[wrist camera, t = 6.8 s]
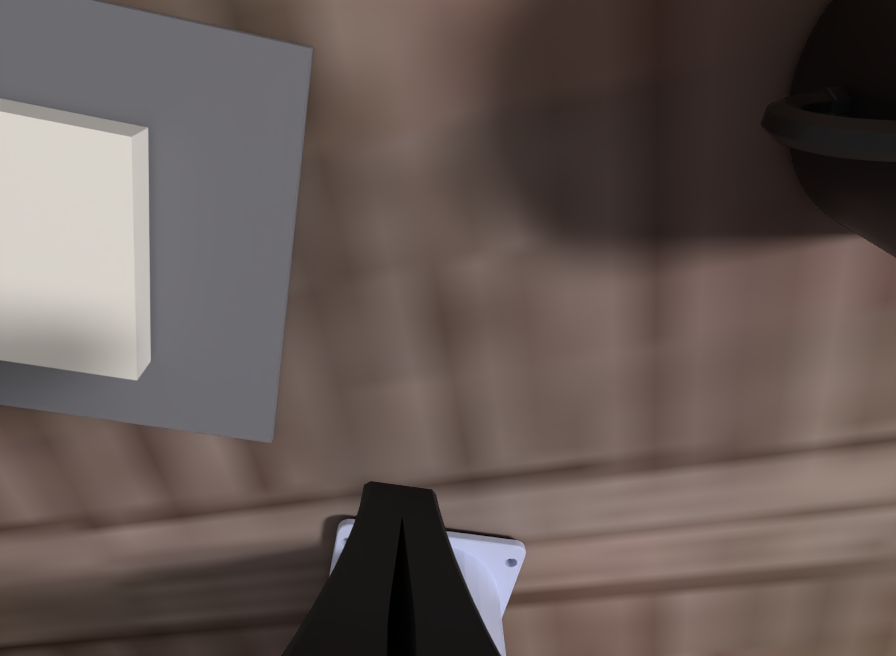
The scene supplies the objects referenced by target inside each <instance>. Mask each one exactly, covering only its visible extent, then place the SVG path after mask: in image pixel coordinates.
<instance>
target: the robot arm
mask: <svg viewBox="0 0 896 656" xmlns="http://www.w3.org/2000/svg"><path fill="white" fill-rule="evenodd" d="M345 538H348V539H345ZM525 554H526V551H525V546H524V544H523V543H522V542H521V541H517V540H511V539H504V538H496V537H488V536H480V535H473V534H465V533H457V532H449V531H446V529H445V526H444V523H443V519H442V516H441V513H440V509H439V505H438V501H437V497H436V494H435V493H434V491H433V490H432V489H424V488H417V487H409V486H402V485H394V484H387V483H380V482H372V481H370V482H369V483H367V484H365V485H364V488H363V493H362V498H361V503H360V507H359V511H358V514H357V516H356V519H346V520H343V521H341V522H340V523H339V525H338V529H337V535H336V540H335V546H334V552H333V557H332V563H331V569H330V574H329V578H328V580H327V582H326V584H325V585H324V587H323V589H322V591H321V593H320V594H319V596H318V598H317V600H316V602H315V603H314V605H313V607H312V609H311V610H310V612H309V613H308V615H307V617H306V618H305V620H304V622H303V623H302V625H301V626H300V628H299V630H298V631H297V633H296V634H295V636H294V637H293V639H292V640H291V642H290V643H289V645H288V646H287V648H286V649H285V651H284V652H283V654H282V655H281V656H506V652H505V644H504V635H503V627H502V616H503V613H504V611H505V608H506V605H507V603H508V600H509V597H510V595H511V592H512V589H513V587H514V584H515V581H516V579H517V576H518V574H519V571H520V568H521V566H522V563H523V560H524V558H525ZM508 559H512V560H508Z"/></svg>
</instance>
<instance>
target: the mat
mask: <svg viewBox="0 0 896 656" xmlns="http://www.w3.org/2000/svg"><path fill="white" fill-rule="evenodd" d="M312 54H313V47H312V46H307V45H302V44H298V43H293V42H289V41H284V40H280V39H275V38H271V37H266V36H261V35H257V34H252V33H248V32H243V31H239V30H234V29H230V28H225V27H220V26H216V25H211V24H207V23H202V22H198V21H193V20H189V19H184V18H179V17H175V16H170V15H166V14H161V13H157V12H152V11H148V10H143V9H138V8H134V7H129V6H125V5H120V4H116V3H111V2H107V1H102V0H0V98H1V99H6V100H11V101H16V102H21V103H26V104H32V105H37V106H42V107H47V108H52V109H57V110H62V111H67V112H72V113H77V114H82V115H87V116H92V117H97V118H102V119H108V120H113V121H118V122H123V123H128V124H133V125H138V126H143V127H148V158H149V249H150V340H151V362H150V363H149V364H148V366H147V367H146V369H145V370H144V372H143V373H142V374H141V376H140V377H139V379H138V380H130V379H123V378H117V377H110V376H103V375H97V374H90V373H83V372H76V371H70V370H63V369H56V368H50V367H43V366H36V365H30V364H23V363H16V362H10V361H3V360H0V405H6V406H13V407H20V408H27V409H34V410H41V411H48V412H55V413H62V414H70V415H77V416H84V417H91V418H98V419H105V420H112V421H119V422H126V423H133V424H140V425H147V426H154V427H162V428H169V429H176V430H183V431H190V432H197V433H204V434H211V435H218V436H225V437H232V438H239V439H247V440H254V441H261V442H268V443H271V442H272V439H273V436H274V427H275V417H276V407H277V397H278V387H279V378H280V368H281V358H282V348H283V338H284V329H285V319H286V309H287V299H288V289H289V280H290V270H291V260H292V250H293V240H294V231H295V221H296V211H297V201H298V191H299V182H300V172H301V162H302V152H303V142H304V133H305V123H306V113H307V103H308V93H309V84H310V74H311V64H312Z"/></svg>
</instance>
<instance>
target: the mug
mask: <svg viewBox="0 0 896 656" xmlns="http://www.w3.org/2000/svg"><path fill="white" fill-rule="evenodd" d="M761 125H762V127H763V128H764V129H765V130H766V131H767V132H768V134H769V135H770V136H771V137H772V138H773V139H774V140H776V141H777V142H779V143H781V144H783V145H786V146H789V147H790V151H791V156H792V161H793V164H794V168H795V170H796V173H797V175H798V178H799V180H800V183H801V185H802V186H803V188H804V189H805V191H806V192H807V194H808V195H809V197H810V198H811V199H812V201H813V202H814V203H815V204H816V205H817V206H818V207H819V208H820V209H821V210H822V211H823V212H824V213H825V214H826V215H828V216H829V217H831V218H832V219H834V220H835V221H837V222H838V223H840V224H842V225H843V226H845V227H846V228H848V229H850V230H851V231H853V232H855V233H856V234H858V235H860V236H861V237H863V238H864V239H866V240H868V241H869V242H871V243H873V244H874V245H876V246H878V247H879V248H881V249H882V250H884V251H886V252H887V253H889V254H891V255H892V256H894V257H895V258H896V0H832V1H831V3H830V4H829V5H828V7H827V8H826V10H825V11H824V13H823V14H822V16H821V18H820V20H819V21H818V23H817V25H816V26H815V28H814V30H813V32H812V33H811V35H810V37H809V39H808V42H807V44H806V46H805V49H804V51H803V53H802V55H801V58H800V61H799V63H798V66H797V69H796V73H795V76H794V80H793V83H792V87H791V92H790V97H787V98H784V99H781V100H778V101H776V102H773V103H771V104H770V105H769V106H768V107H767V109H766V112H765V114H764V117H763V119H762V122H761Z"/></svg>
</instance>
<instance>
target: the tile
mask: <svg viewBox="0 0 896 656" xmlns="http://www.w3.org/2000/svg"><path fill="white" fill-rule="evenodd" d="M0 360H3V361H10V362H16V363H23V364H30V365H36V366H43V367H50V368H56V369H63V370H70V371H76V372H83V373H90V374H97V375H103V376H110V377H117V378H123V379H130V380H138V379H139V377H140V376H141V374H142V373H143V372H144V370H145V369H146V367H147V366H148V364H149V363H150V362H151V340H150V249H149V158H148V127H143V126H138V125H133V124H128V123H123V122H118V121H113V120H108V119H102V118H97V117H92V116H87V115H82V114H77V113H72V112H67V111H62V110H57V109H52V108H47V107H42V106H37V105H32V104H26V103H21V102H16V101H11V100H6V99H1V98H0Z"/></svg>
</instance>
